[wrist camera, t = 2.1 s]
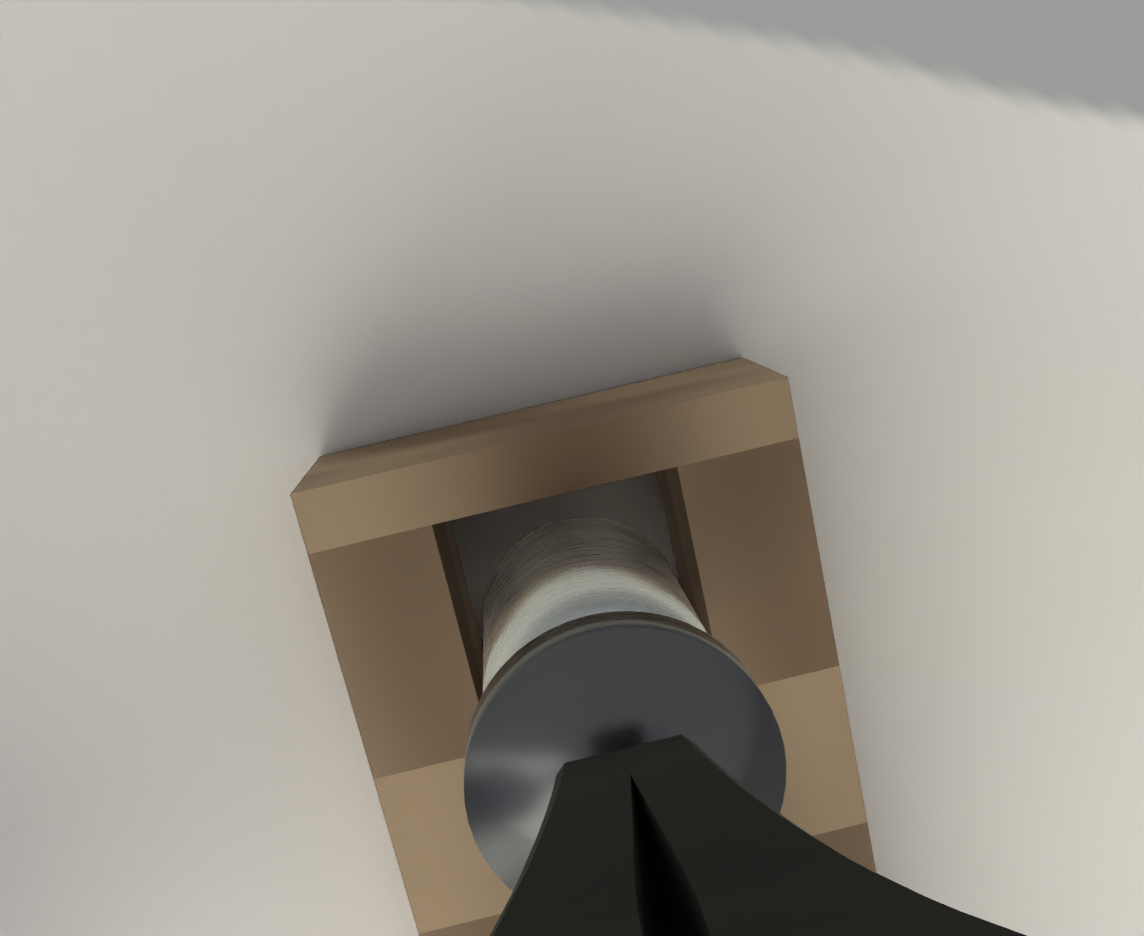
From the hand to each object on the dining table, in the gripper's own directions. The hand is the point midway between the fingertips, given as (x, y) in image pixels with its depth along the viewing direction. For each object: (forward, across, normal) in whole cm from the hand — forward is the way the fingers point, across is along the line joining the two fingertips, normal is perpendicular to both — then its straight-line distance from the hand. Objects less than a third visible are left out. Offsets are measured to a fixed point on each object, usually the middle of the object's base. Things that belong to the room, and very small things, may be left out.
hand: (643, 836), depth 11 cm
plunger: (+7, 0, 0) cm, 7 cm away
